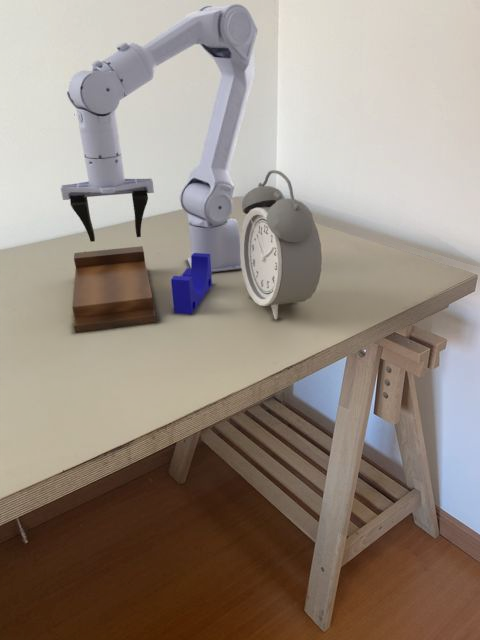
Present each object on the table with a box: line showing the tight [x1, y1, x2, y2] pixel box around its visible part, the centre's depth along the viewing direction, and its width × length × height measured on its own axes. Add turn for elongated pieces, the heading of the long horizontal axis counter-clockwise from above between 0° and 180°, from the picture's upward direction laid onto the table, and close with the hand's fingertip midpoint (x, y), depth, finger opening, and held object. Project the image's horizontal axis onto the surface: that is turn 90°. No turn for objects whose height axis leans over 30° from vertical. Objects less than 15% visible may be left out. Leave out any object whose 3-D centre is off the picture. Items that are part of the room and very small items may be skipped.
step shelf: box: [72, 245, 157, 333], centre depth 97 cm, size 12×23×5 cm, turn 14°
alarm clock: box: [240, 169, 323, 320], centre depth 89 cm, size 16×9×22 cm, turn 23°
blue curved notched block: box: [170, 253, 213, 315], centre depth 96 cm, size 12×4×6 cm, turn 168°
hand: (115, 237), depth 96 cm, fingers open, 7 cm apart
